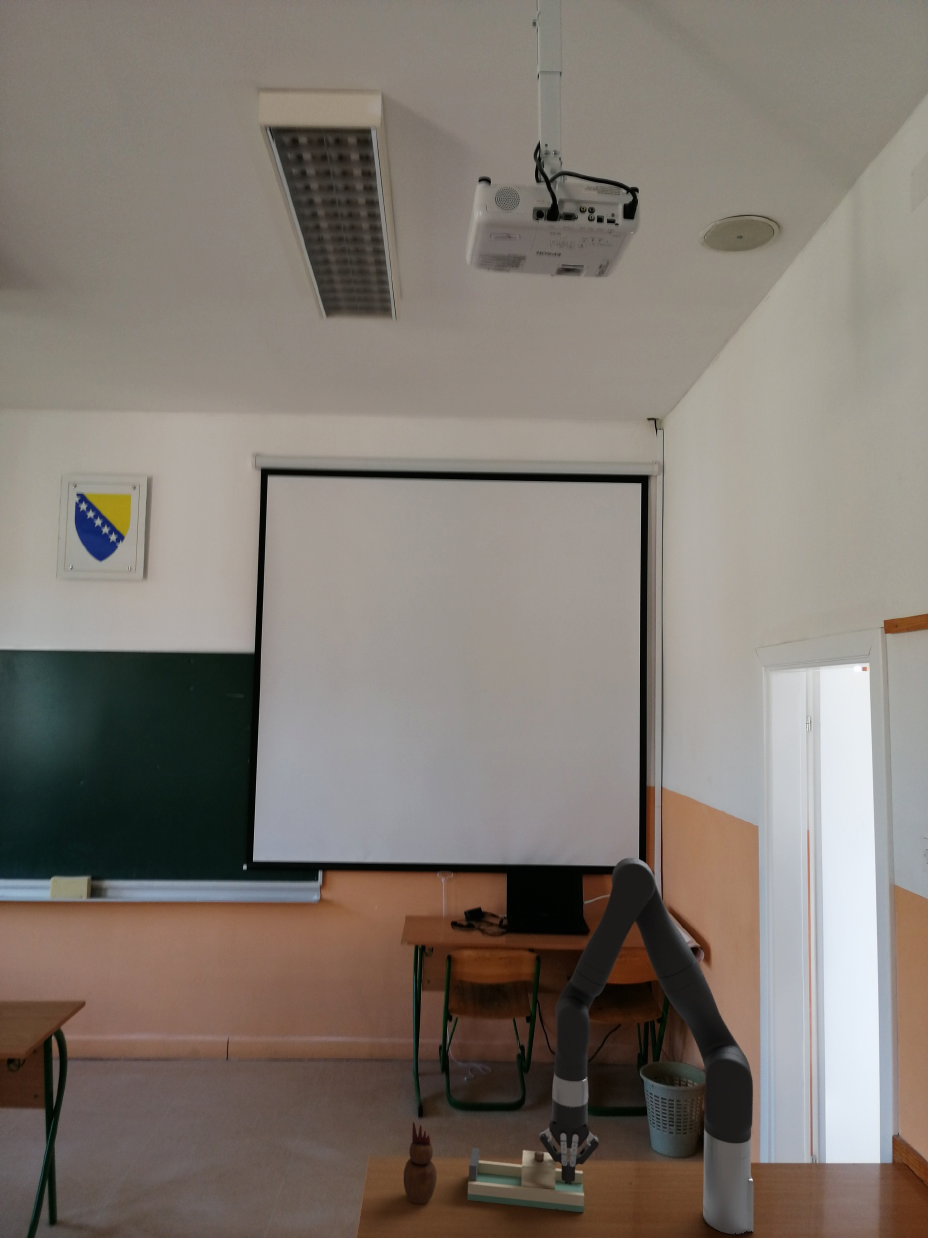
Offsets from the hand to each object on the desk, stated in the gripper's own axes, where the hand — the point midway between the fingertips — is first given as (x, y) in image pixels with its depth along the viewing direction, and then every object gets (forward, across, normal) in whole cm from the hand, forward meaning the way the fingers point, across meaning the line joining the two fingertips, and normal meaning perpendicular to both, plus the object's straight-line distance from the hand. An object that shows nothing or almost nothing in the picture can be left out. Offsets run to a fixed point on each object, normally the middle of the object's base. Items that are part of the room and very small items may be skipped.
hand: (567, 1182), depth 173 cm
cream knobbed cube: (+2, +6, 0) cm, 6 cm away
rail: (+3, +9, 0) cm, 9 cm away
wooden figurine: (+3, +31, +6) cm, 32 cm away
